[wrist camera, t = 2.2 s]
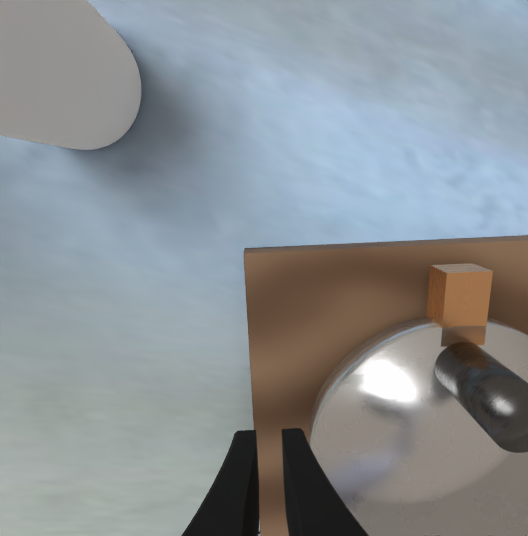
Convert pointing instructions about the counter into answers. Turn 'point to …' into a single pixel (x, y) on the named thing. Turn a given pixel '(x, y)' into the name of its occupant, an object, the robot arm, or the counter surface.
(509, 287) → the base board
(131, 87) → the can
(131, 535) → the counter surface
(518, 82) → the counter surface
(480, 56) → the counter surface
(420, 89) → the counter surface
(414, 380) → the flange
